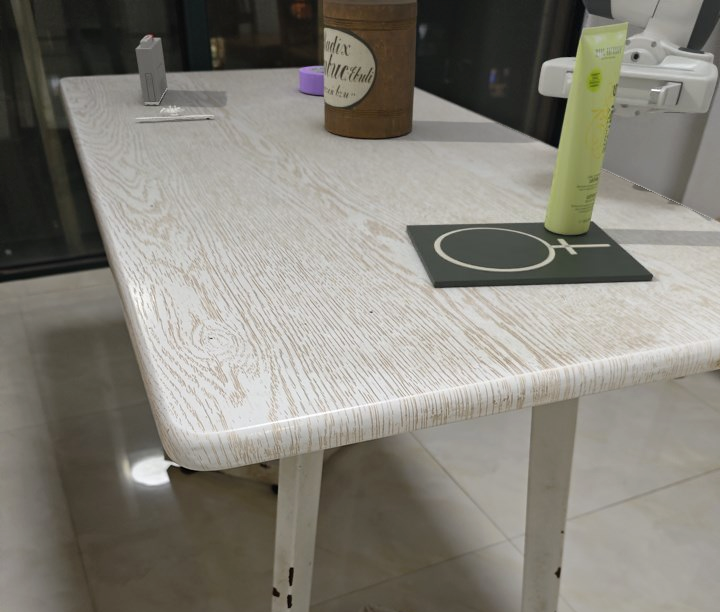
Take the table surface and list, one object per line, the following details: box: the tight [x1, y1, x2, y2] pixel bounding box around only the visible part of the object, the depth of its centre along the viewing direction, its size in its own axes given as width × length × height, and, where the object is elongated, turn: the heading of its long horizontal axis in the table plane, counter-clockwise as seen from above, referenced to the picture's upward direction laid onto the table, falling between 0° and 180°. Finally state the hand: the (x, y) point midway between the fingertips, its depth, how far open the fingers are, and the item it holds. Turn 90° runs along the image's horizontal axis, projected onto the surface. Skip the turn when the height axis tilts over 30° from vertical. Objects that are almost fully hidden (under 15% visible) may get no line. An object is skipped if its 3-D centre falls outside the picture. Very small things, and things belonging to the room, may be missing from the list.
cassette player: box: [135, 34, 168, 103], centre depth 134 cm, size 16×3×10 cm, turn 6°
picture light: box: [135, 105, 216, 119], centre depth 122 cm, size 14×4×2 cm, turn 108°
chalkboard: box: [405, 220, 654, 288], centre depth 75 cm, size 22×16×1 cm
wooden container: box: [322, 0, 418, 139], centre depth 112 cm, size 15×15×22 cm
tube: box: [544, 22, 629, 235], centre depth 73 cm, size 6×5×20 cm
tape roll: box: [298, 65, 324, 96], centre depth 144 cm, size 12×12×4 cm
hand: (612, 94), depth 80 cm, fingers open, 8 cm apart
